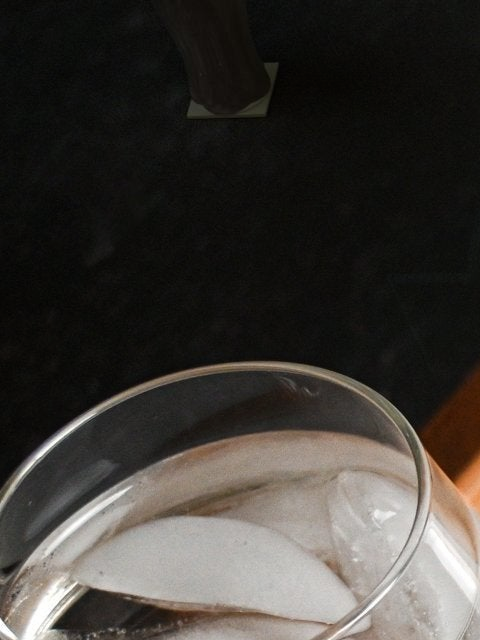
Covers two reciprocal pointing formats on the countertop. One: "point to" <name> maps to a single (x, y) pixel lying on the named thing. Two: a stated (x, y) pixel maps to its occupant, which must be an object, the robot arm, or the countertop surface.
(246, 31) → the beer glass
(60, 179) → the countertop surface
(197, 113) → the tile
